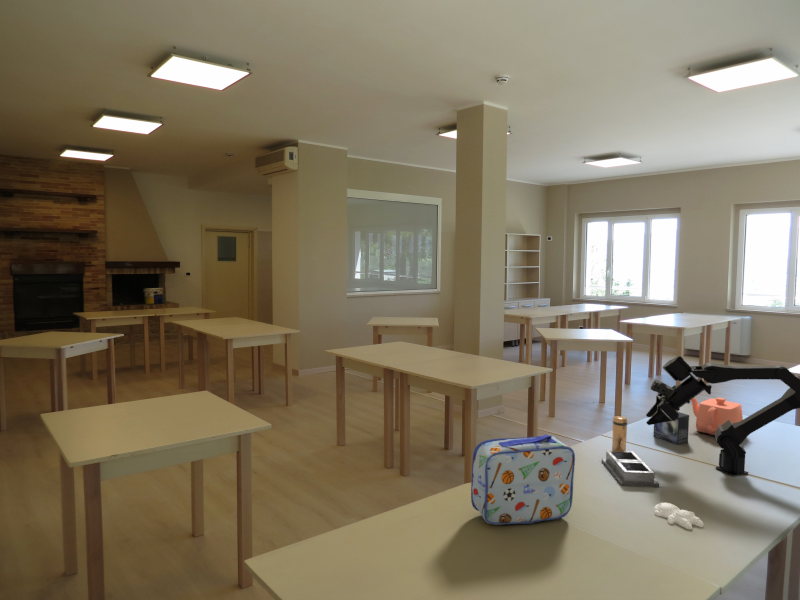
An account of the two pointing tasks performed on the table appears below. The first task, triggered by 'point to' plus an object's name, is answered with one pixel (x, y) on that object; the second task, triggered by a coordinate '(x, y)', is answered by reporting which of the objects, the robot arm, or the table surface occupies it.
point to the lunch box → (522, 479)
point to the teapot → (715, 414)
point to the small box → (673, 430)
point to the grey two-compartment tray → (629, 469)
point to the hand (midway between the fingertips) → (647, 420)
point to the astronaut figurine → (677, 515)
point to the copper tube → (619, 433)
